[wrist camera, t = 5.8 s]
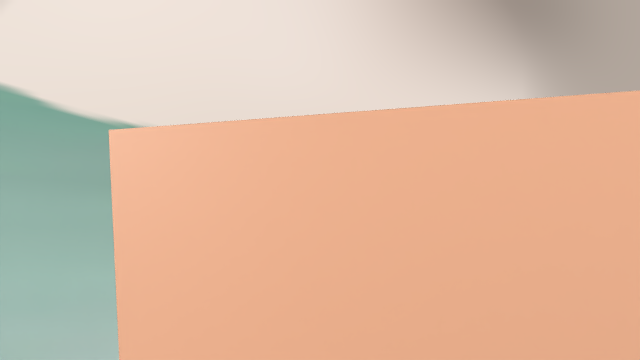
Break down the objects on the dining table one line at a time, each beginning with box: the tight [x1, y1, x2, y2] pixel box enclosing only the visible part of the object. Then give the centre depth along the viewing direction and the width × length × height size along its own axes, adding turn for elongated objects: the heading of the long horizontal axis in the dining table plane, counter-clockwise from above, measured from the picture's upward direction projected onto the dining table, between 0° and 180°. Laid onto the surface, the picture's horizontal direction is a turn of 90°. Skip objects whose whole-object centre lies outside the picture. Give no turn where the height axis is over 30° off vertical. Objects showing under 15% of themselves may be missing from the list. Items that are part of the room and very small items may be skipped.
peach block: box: [109, 91, 640, 360], centre depth 9 cm, size 5×5×13 cm
